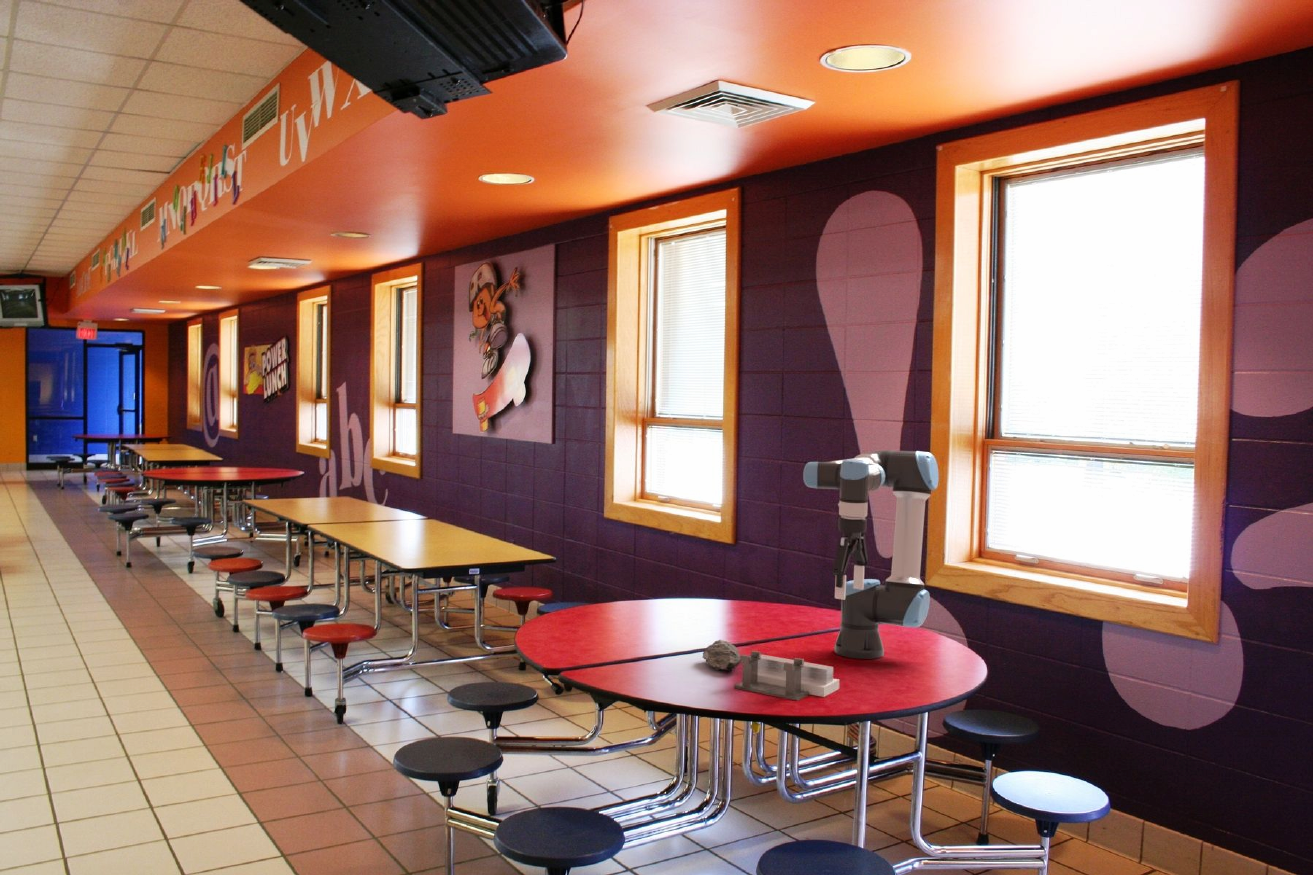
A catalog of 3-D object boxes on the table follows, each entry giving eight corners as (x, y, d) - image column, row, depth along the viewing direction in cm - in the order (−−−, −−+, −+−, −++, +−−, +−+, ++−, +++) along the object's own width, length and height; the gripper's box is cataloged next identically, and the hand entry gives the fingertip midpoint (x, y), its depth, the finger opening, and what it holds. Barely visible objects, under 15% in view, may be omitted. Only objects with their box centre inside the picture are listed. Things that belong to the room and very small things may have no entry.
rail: (760, 668, 273) (761, 654, 273) (832, 681, 261) (833, 666, 261) (753, 671, 270) (754, 656, 270) (826, 684, 257) (827, 669, 257)
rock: (691, 654, 288) (710, 627, 291) (711, 673, 291) (730, 646, 294) (722, 669, 272) (742, 641, 274) (743, 689, 275) (763, 660, 278)
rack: (746, 682, 267) (747, 649, 267) (809, 694, 256) (810, 660, 256) (733, 687, 261) (734, 654, 261) (797, 700, 251) (798, 665, 251)
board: (764, 674, 276) (764, 666, 276) (839, 688, 263) (839, 679, 263) (747, 682, 268) (747, 673, 268) (823, 696, 255) (824, 687, 255)
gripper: (856, 509, 274) (852, 582, 276) (821, 521, 253) (818, 600, 255) (881, 512, 270) (878, 586, 272) (848, 524, 249) (845, 605, 251)
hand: (849, 593), depth 263 cm, fingers open, 13 cm apart
